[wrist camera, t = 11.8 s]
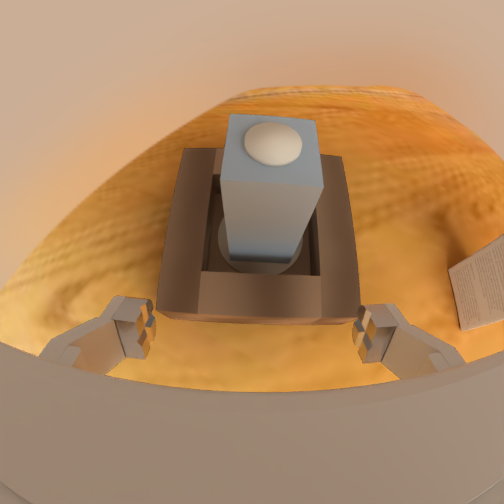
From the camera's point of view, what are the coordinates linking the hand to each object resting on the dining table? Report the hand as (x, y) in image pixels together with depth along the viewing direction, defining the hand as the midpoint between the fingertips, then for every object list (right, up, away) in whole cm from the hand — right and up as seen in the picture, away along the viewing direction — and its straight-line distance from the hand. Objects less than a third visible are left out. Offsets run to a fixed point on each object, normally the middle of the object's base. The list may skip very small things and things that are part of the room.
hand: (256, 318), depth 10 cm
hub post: (+1, +4, +9) cm, 10 cm away
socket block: (0, +3, +10) cm, 11 cm away
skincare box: (+20, -2, +9) cm, 22 cm away
